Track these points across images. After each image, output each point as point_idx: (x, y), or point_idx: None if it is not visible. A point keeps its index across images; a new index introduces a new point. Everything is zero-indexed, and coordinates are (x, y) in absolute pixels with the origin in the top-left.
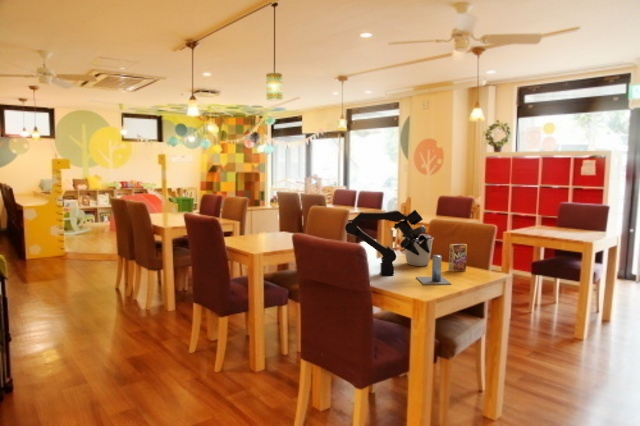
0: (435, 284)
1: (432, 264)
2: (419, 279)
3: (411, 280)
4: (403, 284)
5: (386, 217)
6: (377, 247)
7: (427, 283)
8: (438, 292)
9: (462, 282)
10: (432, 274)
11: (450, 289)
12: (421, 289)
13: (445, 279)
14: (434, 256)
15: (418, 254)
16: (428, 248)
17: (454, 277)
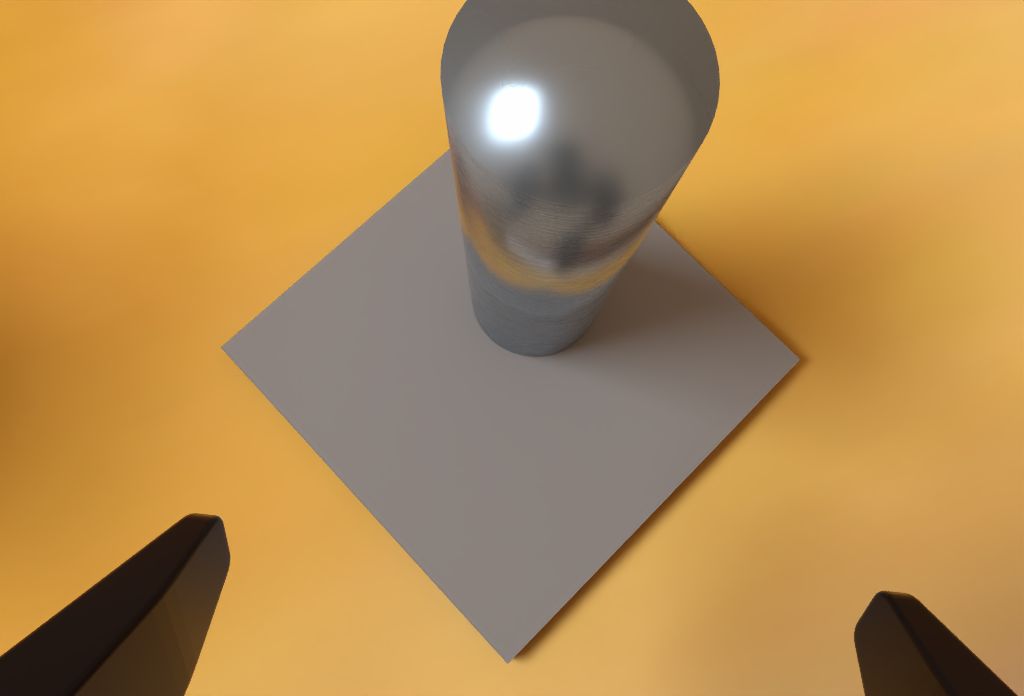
0: (670, 244)
1: (625, 261)
2: (621, 530)
3: (691, 632)
4: (981, 597)
5: None
6: None
7: (748, 324)
8: (959, 68)
9: (305, 43)
10: (601, 306)
11: (735, 21)
12: (1005, 276)
13: (356, 237)
14: (718, 95)
15: (914, 619)
16: (60, 628)
17: (89, 228)
